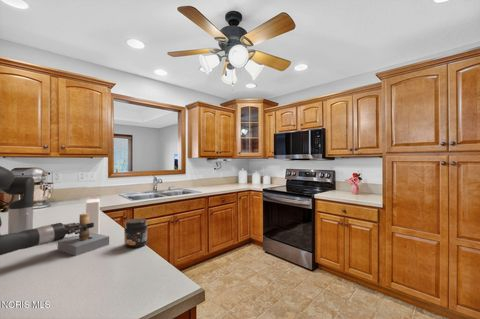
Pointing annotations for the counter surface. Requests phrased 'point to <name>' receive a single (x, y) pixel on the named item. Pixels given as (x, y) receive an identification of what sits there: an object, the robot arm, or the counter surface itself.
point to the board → (83, 244)
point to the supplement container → (135, 233)
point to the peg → (83, 220)
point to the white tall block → (93, 212)
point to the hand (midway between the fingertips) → (90, 224)
